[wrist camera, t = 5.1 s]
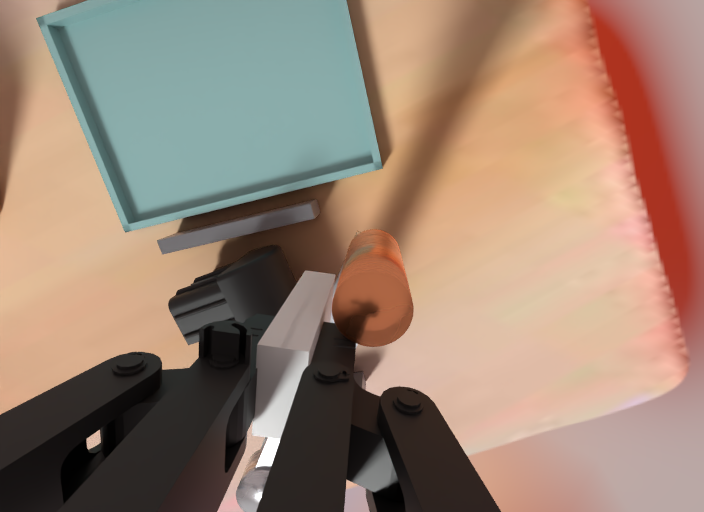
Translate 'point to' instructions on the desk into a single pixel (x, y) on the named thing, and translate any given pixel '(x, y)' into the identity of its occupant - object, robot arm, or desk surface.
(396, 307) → the crank handle
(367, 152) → the tray
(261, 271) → the end cap
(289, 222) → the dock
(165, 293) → the desk surface
